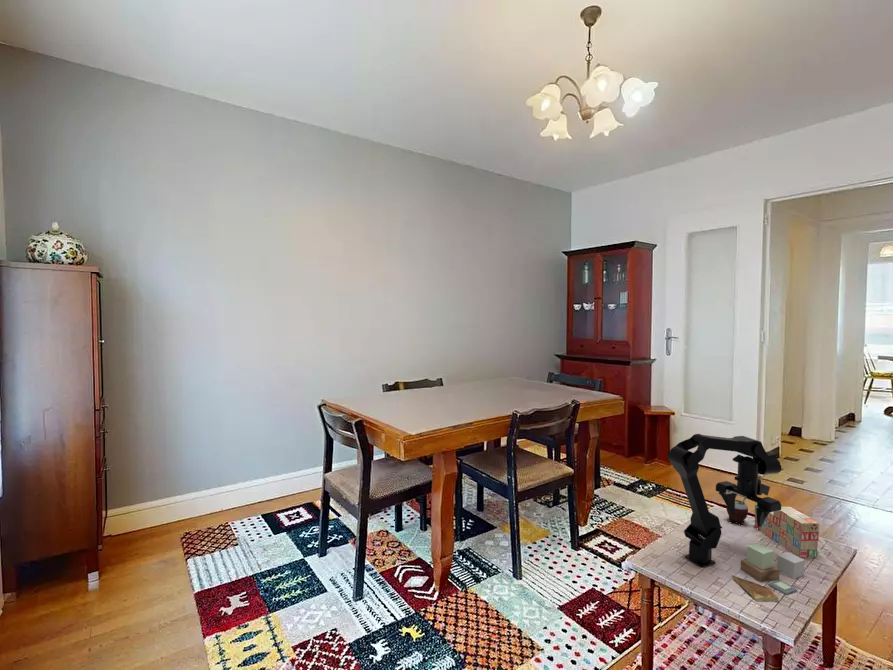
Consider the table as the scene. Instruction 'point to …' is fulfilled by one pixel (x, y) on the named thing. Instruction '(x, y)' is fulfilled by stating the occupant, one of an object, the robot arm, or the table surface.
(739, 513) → the mate gourd
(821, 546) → the table surface
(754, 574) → the walnut block
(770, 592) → the shard
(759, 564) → the sage cube
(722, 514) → the table surface
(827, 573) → the table surface
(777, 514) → the stack of blocks
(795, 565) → the grey cube
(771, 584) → the card
